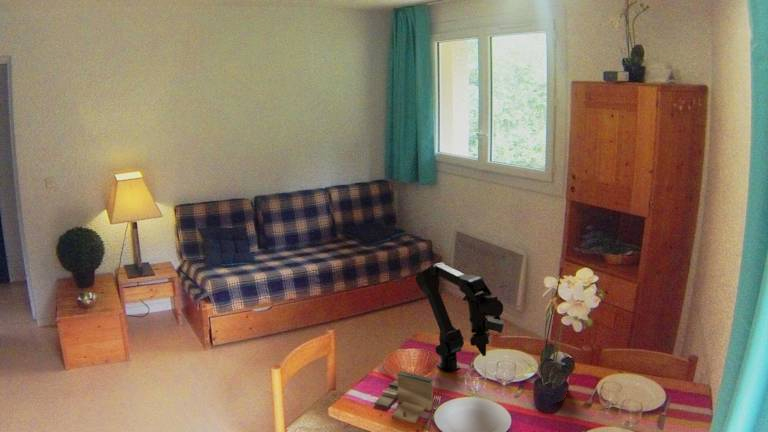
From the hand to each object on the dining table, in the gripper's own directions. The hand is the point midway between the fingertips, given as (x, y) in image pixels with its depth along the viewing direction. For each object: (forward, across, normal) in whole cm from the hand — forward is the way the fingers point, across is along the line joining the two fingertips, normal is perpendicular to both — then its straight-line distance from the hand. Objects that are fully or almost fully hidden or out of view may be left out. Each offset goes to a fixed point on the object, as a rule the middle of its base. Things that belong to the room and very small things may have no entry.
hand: (484, 355), depth 214 cm
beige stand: (+10, -18, +26) cm, 33 cm away
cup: (+16, +5, -24) cm, 29 cm away
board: (+8, -10, +33) cm, 36 cm away
